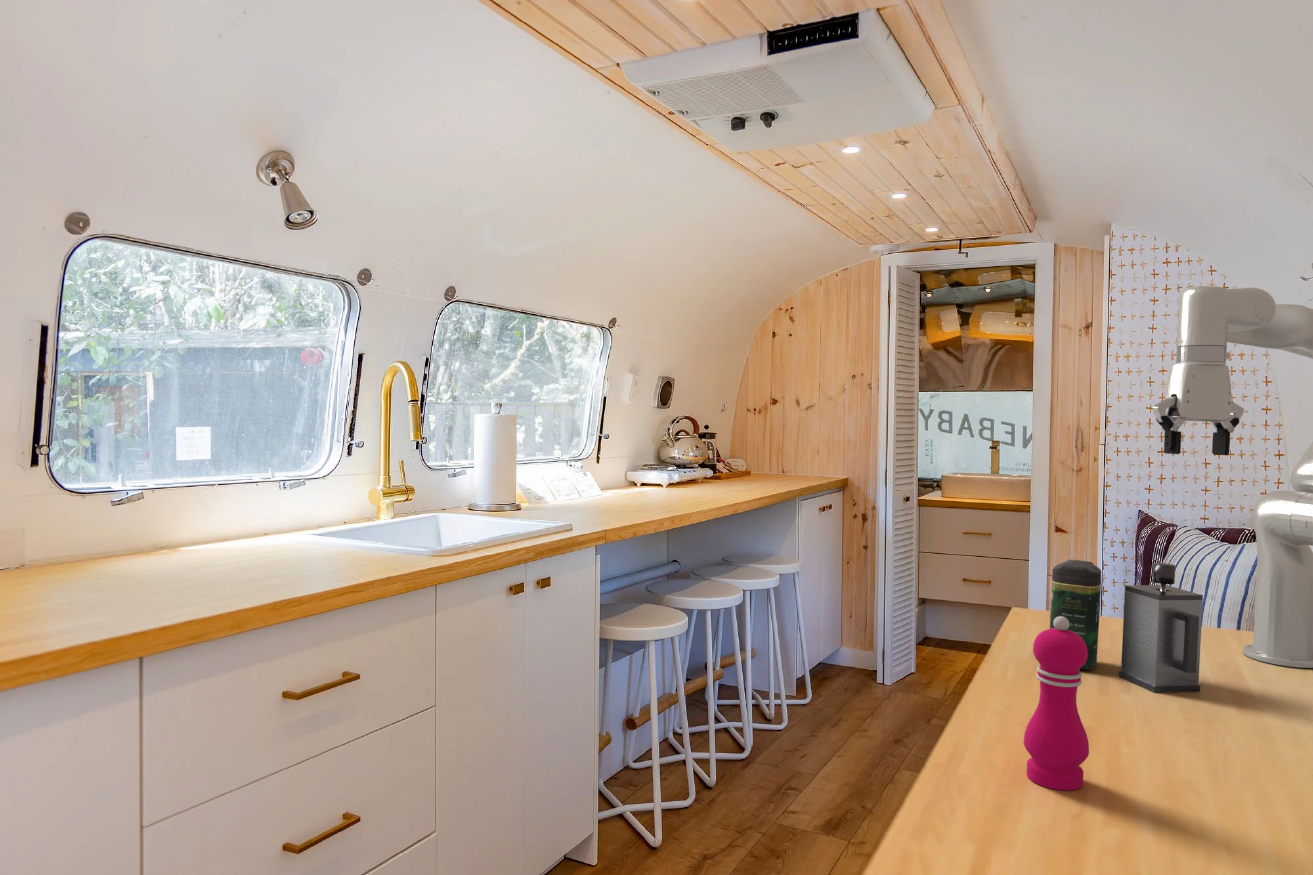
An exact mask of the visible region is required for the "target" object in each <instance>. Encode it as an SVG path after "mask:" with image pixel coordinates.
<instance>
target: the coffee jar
mask: <svg viewBox="0 0 1313 875" xmlns="http://www.w3.org/2000/svg"><path fill="white" fill-rule="evenodd" d="M1101 590H1102V569H1101V568H1099V567H1098V566H1096V565H1095V564H1094V563H1093V562H1091V561H1086V560H1079V559H1067V560H1066V561H1064V562H1061V563H1058V564H1056V565H1054V567H1053V569H1052V574H1051V592H1050V593H1051V597H1050V612H1049V629H1051V628H1055V627H1054V625H1053V621H1054V619H1055V618H1056V617H1059V616H1062V617H1065V618H1066V619H1067V620H1068V621H1069V628H1068V629H1067V630H1070V631H1072V632H1074V633H1076V634H1078V635H1079V636H1080V637H1081V638H1082V639H1083V640H1084V642H1085V644H1086V646H1087V651H1088V656H1087V661H1086V663H1085V664H1084V665H1083V666H1082V667H1081V668H1080V669H1079V670H1085V671H1086V670H1087V671H1088V670H1092V669H1093V668H1094V667H1095V666H1096V664H1097V662H1098V645H1099V628H1100V618H1101V617H1100V615H1101V614H1100V611H1101V594H1102V593H1101V592H1102V591H1101Z"/></svg>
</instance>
